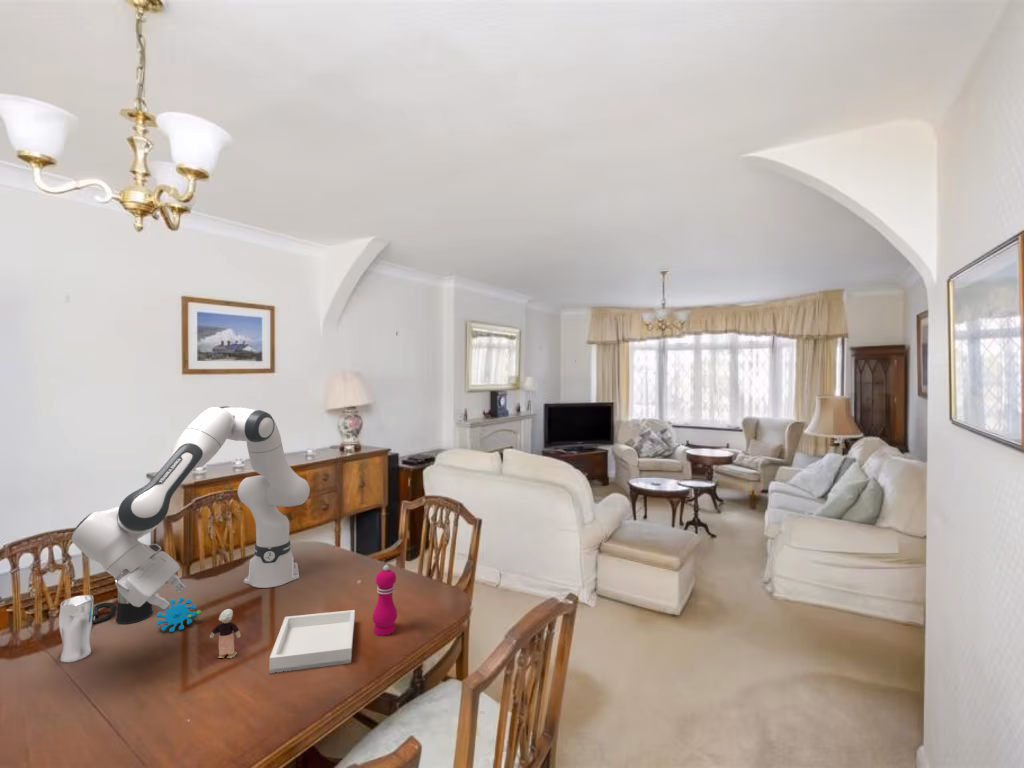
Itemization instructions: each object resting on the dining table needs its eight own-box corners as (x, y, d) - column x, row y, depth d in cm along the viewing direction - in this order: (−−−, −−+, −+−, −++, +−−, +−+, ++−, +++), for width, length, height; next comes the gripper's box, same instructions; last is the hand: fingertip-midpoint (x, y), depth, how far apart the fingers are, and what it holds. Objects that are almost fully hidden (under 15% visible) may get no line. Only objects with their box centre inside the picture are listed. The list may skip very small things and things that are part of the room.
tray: (284, 630, 144) (285, 616, 144) (354, 622, 149) (354, 609, 149) (269, 673, 123) (269, 658, 123) (350, 663, 128) (351, 648, 128)
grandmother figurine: (242, 650, 133) (243, 604, 133) (239, 657, 129) (240, 611, 129) (210, 654, 130) (212, 608, 130) (206, 662, 127) (208, 615, 127)
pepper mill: (367, 630, 145) (369, 564, 145) (388, 622, 150) (390, 558, 150) (380, 639, 140) (382, 571, 140) (401, 630, 145) (403, 565, 145)
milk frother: (156, 617, 149) (157, 570, 149) (89, 636, 137) (90, 585, 137) (146, 602, 159) (147, 557, 159) (82, 618, 147) (83, 570, 147)
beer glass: (65, 651, 130) (66, 596, 130) (97, 646, 132) (98, 592, 132) (52, 666, 123) (54, 608, 123) (86, 660, 126) (88, 604, 126)
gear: (150, 631, 138) (162, 596, 145) (152, 638, 142) (164, 604, 148) (194, 630, 142) (204, 596, 149) (195, 637, 146) (205, 603, 153)
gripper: (122, 570, 114) (168, 606, 117) (159, 541, 134) (198, 573, 137) (99, 590, 113) (147, 626, 116) (140, 558, 133) (180, 590, 135)
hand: (175, 597), depth 126 cm, fingers open, 8 cm apart
